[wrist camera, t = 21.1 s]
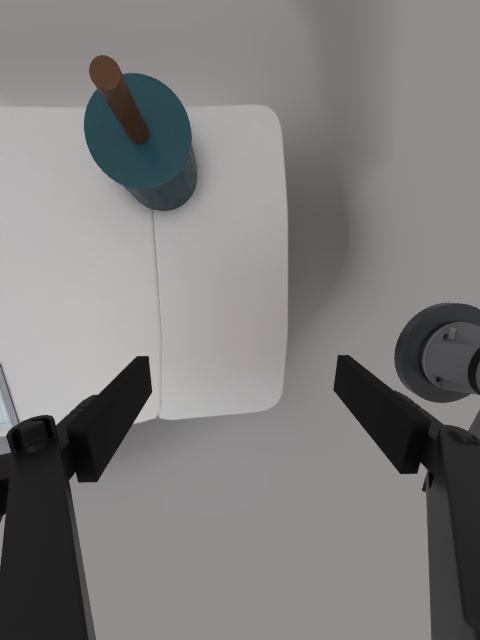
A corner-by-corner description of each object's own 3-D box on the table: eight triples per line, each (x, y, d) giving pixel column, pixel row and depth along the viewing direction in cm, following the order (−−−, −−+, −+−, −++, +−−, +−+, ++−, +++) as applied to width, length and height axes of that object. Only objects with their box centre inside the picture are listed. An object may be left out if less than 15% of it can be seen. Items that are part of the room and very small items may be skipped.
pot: (197, 135, 38) (187, 85, 28) (197, 212, 39) (188, 188, 30) (122, 130, 37) (87, 76, 27) (125, 209, 39) (93, 183, 29)
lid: (192, 85, 29) (177, -6, 20) (192, 194, 31) (179, 156, 22) (85, 76, 28) (19, -24, 19) (92, 189, 30) (35, 146, 21)
